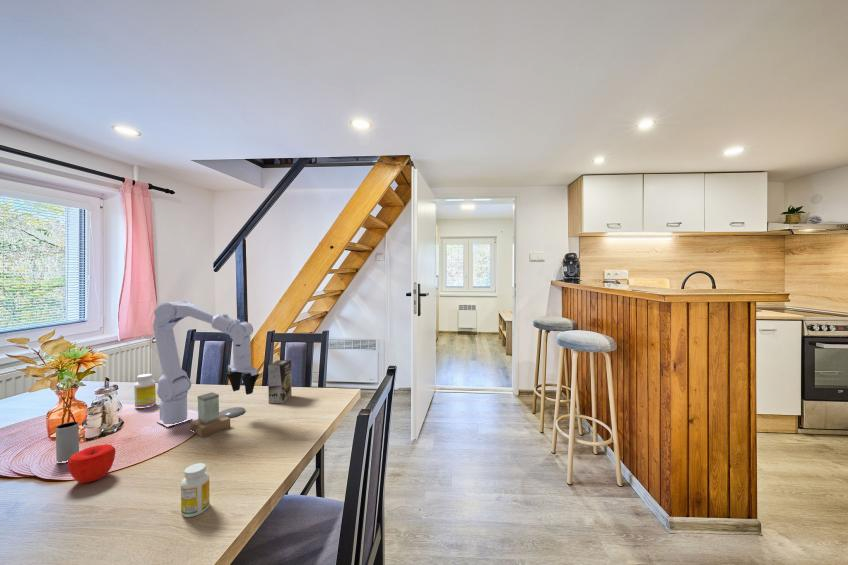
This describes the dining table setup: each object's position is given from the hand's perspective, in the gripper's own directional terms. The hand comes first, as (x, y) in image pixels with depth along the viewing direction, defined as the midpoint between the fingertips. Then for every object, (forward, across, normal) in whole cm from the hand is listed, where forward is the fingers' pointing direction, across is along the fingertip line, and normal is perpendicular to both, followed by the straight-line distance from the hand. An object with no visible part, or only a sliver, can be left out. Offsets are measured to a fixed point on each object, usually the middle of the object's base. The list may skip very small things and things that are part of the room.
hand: (242, 392), depth 123 cm
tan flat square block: (+10, -4, -10) cm, 15 cm away
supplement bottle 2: (+11, +35, -35) cm, 51 cm away
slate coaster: (+10, -10, +2) cm, 14 cm away
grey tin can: (+11, -20, -40) cm, 47 cm away
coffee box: (+11, -5, +21) cm, 24 cm away
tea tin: (+7, -4, -10) cm, 13 cm away
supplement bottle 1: (+11, -49, -10) cm, 51 cm away
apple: (+11, -2, -41) cm, 42 cm away
